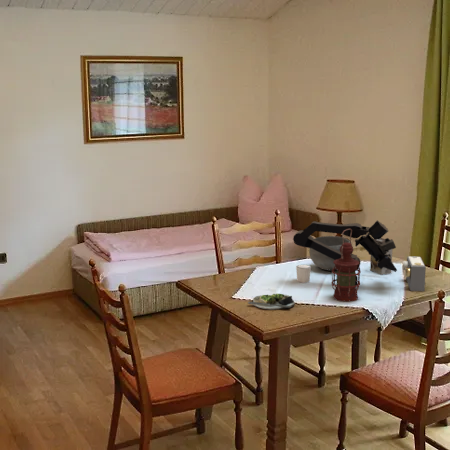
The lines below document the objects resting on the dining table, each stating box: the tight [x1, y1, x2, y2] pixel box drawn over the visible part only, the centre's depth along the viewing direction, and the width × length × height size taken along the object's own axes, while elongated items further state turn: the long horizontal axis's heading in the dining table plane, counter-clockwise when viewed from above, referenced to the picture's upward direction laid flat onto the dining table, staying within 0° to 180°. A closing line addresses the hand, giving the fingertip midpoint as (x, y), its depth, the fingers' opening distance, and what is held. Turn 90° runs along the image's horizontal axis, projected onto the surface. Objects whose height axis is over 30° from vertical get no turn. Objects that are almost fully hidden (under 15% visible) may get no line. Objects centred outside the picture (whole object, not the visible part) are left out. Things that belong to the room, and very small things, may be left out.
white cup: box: [295, 264, 312, 284], centre depth 295 cm, size 7×7×7 cm
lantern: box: [331, 229, 362, 303], centre depth 267 cm, size 12×12×30 cm
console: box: [405, 256, 426, 292], centre depth 285 cm, size 6×18×12 cm, turn 170°
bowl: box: [308, 235, 350, 272], centre depth 314 cm, size 20×20×15 cm
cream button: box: [402, 260, 408, 271], centre depth 291 cm, size 3×4×4 cm
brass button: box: [404, 268, 411, 278], centre depth 280 cm, size 3×4×4 cm
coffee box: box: [369, 237, 394, 276], centre depth 307 cm, size 9×6×16 cm
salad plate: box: [247, 293, 295, 311], centre depth 263 cm, size 19×18×5 cm
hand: (396, 270), depth 280 cm, fingers closed
